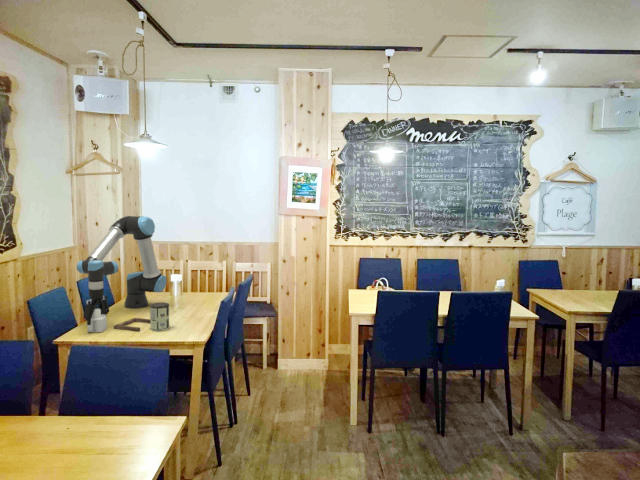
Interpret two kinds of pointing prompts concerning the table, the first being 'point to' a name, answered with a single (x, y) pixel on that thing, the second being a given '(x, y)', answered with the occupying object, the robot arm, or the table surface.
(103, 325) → the container
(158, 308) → the coffee can
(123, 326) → the dock
